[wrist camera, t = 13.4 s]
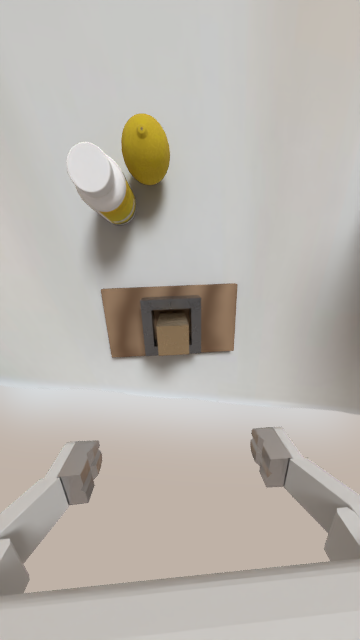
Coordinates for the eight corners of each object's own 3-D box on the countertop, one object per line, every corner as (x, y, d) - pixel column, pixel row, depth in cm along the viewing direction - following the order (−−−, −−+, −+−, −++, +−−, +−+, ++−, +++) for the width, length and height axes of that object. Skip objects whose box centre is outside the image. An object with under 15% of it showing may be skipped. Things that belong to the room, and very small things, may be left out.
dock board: (234, 283, 30) (237, 284, 29) (231, 347, 33) (233, 350, 32) (103, 288, 29) (100, 289, 28) (114, 354, 32) (111, 357, 31)
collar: (198, 294, 29) (201, 297, 26) (198, 345, 31) (201, 352, 28) (143, 297, 28) (139, 300, 26) (147, 347, 31) (145, 355, 28)
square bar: (183, 310, 29) (188, 325, 22) (184, 332, 31) (189, 354, 23) (159, 311, 29) (156, 326, 22) (161, 333, 30) (158, 355, 23)
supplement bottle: (142, 196, 25) (127, 154, 16) (128, 232, 27) (105, 213, 17) (107, 175, 24) (68, 117, 15) (93, 213, 26) (50, 182, 16)
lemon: (162, 201, 26) (159, 172, 18) (125, 185, 25) (106, 148, 17) (175, 158, 24) (177, 107, 17) (136, 140, 24) (120, 78, 16)
